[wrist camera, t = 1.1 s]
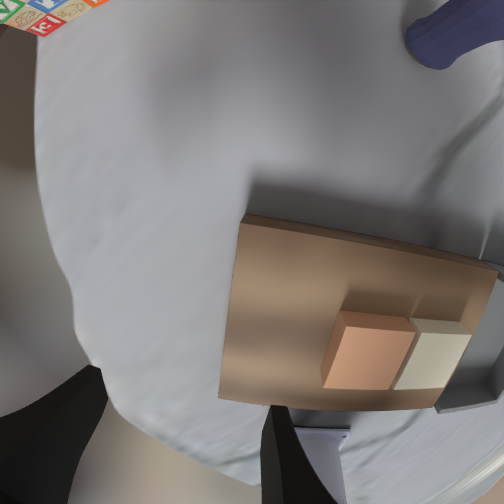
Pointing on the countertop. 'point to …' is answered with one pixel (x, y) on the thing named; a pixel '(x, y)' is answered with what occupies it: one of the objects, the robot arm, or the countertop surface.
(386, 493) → the countertop surface
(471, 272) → the wooden serving tray
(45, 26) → the stack of blocks
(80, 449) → the robot arm
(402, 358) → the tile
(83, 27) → the countertop surface
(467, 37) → the rubber mallet
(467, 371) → the bin
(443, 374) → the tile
